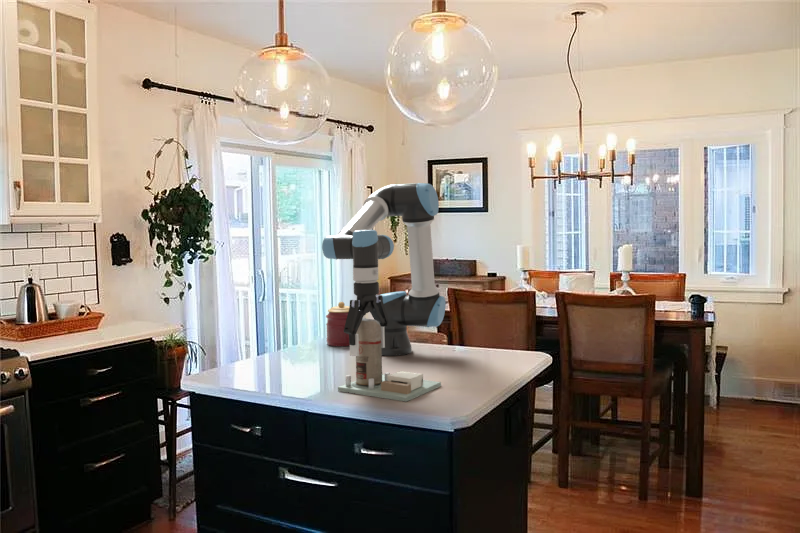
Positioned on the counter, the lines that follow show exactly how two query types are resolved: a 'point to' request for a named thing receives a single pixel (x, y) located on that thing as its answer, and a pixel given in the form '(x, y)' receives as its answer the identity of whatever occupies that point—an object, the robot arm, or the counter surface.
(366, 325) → the spray can
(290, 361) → the counter surface
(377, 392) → the board
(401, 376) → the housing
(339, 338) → the canister
